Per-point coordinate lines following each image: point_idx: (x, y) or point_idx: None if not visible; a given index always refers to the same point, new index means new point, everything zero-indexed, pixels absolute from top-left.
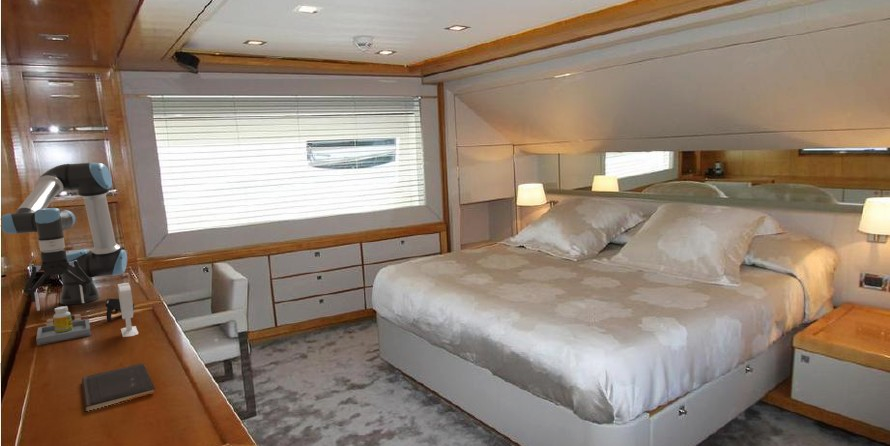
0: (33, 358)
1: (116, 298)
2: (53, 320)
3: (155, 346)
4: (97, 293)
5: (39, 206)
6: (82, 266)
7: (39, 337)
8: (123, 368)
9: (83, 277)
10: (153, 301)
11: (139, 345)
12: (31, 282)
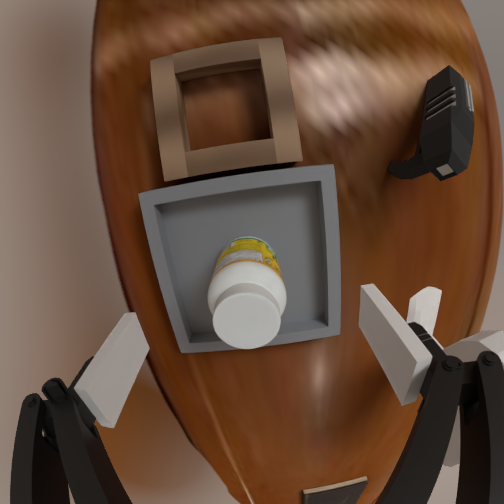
0: (212, 419)
1: (465, 115)
2: (176, 74)
3: (410, 429)
4: None
5: None
6: None
7: (187, 345)
8: (347, 487)
9: (461, 444)
10: (464, 17)
11: (397, 422)
12: (67, 488)
